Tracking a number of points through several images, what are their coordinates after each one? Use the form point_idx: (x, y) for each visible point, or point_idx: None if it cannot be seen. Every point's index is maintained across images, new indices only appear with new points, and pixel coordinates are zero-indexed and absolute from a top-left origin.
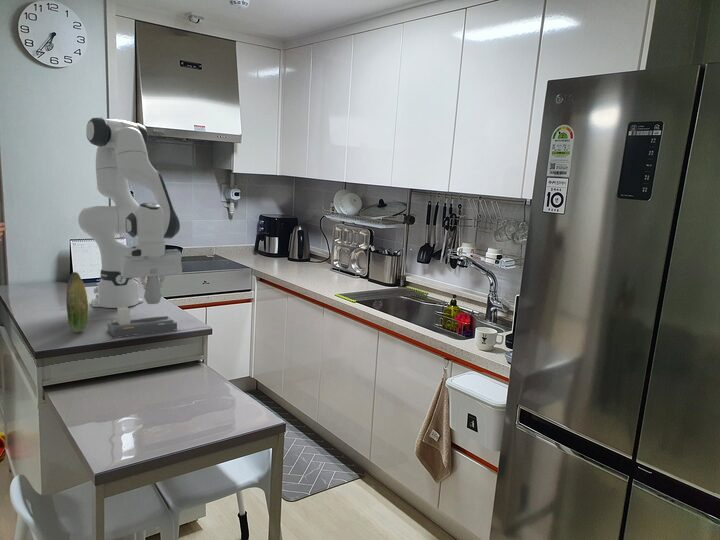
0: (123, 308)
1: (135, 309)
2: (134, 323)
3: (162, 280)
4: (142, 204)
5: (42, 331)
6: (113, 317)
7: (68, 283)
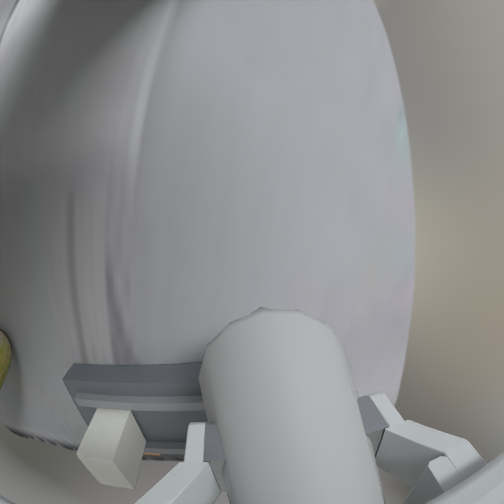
0: (104, 473)
1: (209, 14)
2: (158, 417)
3: (410, 477)
4: None
5: None
6: (79, 146)
7: None
